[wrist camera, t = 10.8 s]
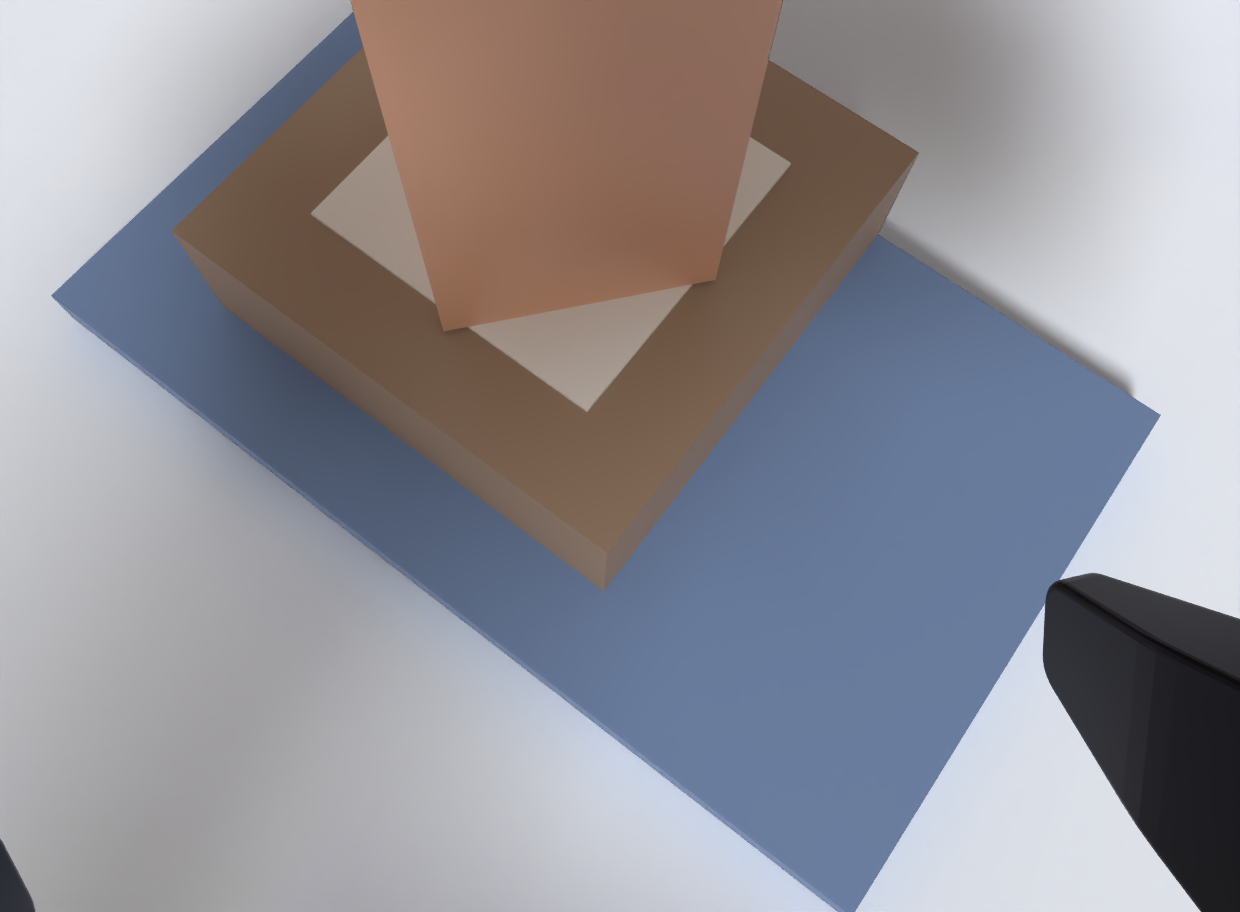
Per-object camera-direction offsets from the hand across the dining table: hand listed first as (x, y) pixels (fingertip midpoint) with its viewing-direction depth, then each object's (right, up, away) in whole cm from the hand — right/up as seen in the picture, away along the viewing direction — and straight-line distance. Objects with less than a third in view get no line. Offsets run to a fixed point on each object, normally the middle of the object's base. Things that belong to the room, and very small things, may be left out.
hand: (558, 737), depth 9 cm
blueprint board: (0, +4, +14) cm, 15 cm away
